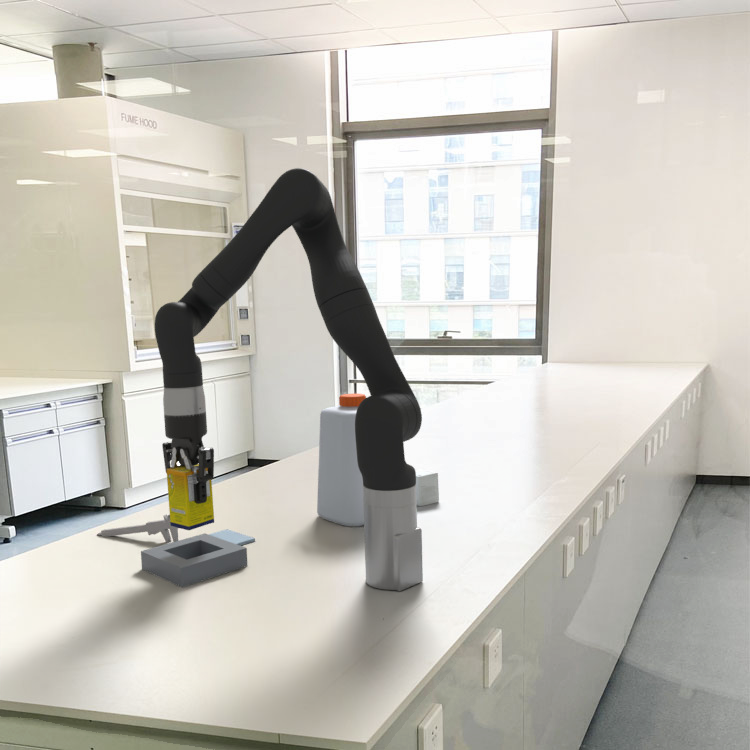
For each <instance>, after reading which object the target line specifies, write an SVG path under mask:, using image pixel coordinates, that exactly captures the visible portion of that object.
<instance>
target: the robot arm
mask: <svg viewBox="0 0 750 750" xmlns="http://www.w3.org/2000/svg"><path fill="white" fill-rule="evenodd" d="M290 227H292V228H293V230H294V232H295V233H296V235H297V238H298V240H299V241H300V244H301V245H302V249H304V251H305V254H306V257H307V261H308V264H309V267H310V273H311V276H310V277H311V282H312V288H313V293H314V298H315V301H316V303H317V304H316V305H317V307H318V309H319V313H320V315H321V317H322V319H323V322H324V325H325V328H326V329H327V332H328V333H329V335H330V336H331V338H332V340H333V341H334V342H335V344H336V345H337V346H338V347H339V348H340V350H341V351H342V352H343V353H344V354H345V356H346V357H348V359H350V361H351V362H352V363H353V364H354V365H355V367H356V368H357V369H358V371H359V372H360V374H361V376H362V378H363V379H364V382H365V384H366V386H367V389H368V391H369V394H370V395H369V396H366V398H365V399H364V400H363V401H362V402H361V403H360V405H359V406H358V409H357V412H356V417H355V438H356V450H357V462H358V467H359V470H360V472H361V474H362V478H363V501H364V502H363V504H364V525H363V527H364V528H363V533H364V535H363V536H364V561H365V562H364V563H365V568H364V569H365V582H366V584H367V585H368V586H370V587H373V588H376V589H378V590H379V589H380V590H386V591H387V590H388V591H389V590H393V591H399V592H401V591H404V590H406V589H408V588H410V587H412V586H413V587H414V586H415V585H417V584H419V583H422V582H423V581H424V580H423V579H424V578H423V577H424V573H423V571H424V570H423V532H422V531H423V530H422V528H420V527H418V514H417V513H418V511H417V506H418V505H416V472H415V470H416V469H415V468H414V466H412V465H411V464H408V463H407V462H406V459H405V445H404V442H407V441H410V440H411V439H413V438H415V437H416V436H417V434H418V433H419V432H420V429H421V427H422V422H423V417H422V416H423V415H422V410H421V405H420V403H419V401H418V398H417V397H416V395H415V393H414V392H413V390H412V387H411V386H410V384H409V382H408V380H407V378H406V377H405V375H404V373H403V371H402V369H401V367H400V365H399V363H398V361H397V358H396V356H395V355H394V352H393V349H392V347H391V344H390V342H389V339H388V337H387V335H386V332H385V331H384V328H383V325H382V323H381V321H380V318H379V316H378V315H379V314H377V310H376V308H375V305H374V302H373V301H372V298H371V295H370V292H369V290H368V288H367V285H366V284H365V282H364V280H363V276H362V274H361V273H360V270H359V268H358V265H357V264H356V262H355V261H354V258H353V256H352V255H351V253H350V251H349V248H348V247H347V245H346V243H345V241H344V237H343V235H342V231H341V229H340V228H341V227H340V225H339V222H338V218H337V215H336V211H335V207H334V203H333V200H332V197H331V194H330V192H329V190H328V188H327V187H326V185H324V183H323V182H322V181H321V179H320V178H319V177H318V176H317V175H316V174H314V172H312V171H310V170H308V169H305V168H303V167H300V168H299V167H296V168H295V167H294V168H291V169H288V170H287V171H285V172H284V173H282V174H281V175H280V176H279V177H278V178H277V179H276V180H275V182H274V183H273V184H272V186H271V188H270V189H269V190H268V192H267V193H266V194H265V196H264V197H263V198H262V200H261V202H259V204H258V206H257V207H256V208H255V210H254V211H253V213H252V214H251V215H250V216H249V217H248V219H247V220H246V222H244V224H243V225H242V227H240V230H239V231H237V233H236V234H235V236H233V238H232V239H230V241H229V242H228V244H227V245H225V247H224V248H222V250H221V251H220V252H219V253H218V254H217V255H216V256H215V257H214V258H213V259H212V260H211V261H210V262H209V263H208V264H207V265H206V266H205V267H204V268H203V269H202V270H201V271H200V272H199V273H198V274H197V275H196V276H195V277H194V279H193V281H192V282H191V287H190V289H189V290H187V291H186V293H185V294H184V295H183V296H182V297H181V298H180V299H179V300H178V301H171V302H167V303H164V304H163V305H162V306H161V307H160V308H158V310H157V312H156V315H155V317H154V332H155V333H154V335H155V340H156V344H157V347H158V351H159V352H158V353H159V356H160V359H161V362H162V379H163V382H162V383H163V395H162V396H163V398H162V401H163V402H162V405H163V421H164V430H165V431H164V432H165V433H164V434H165V437H166V438H167V439H170V440H171V441H166V442H162V454H163V460H164V462H163V463H164V469H165V473H166V474H167V469H169V468H175V467H179V466H184V465H185V466H186V468H187V471H190V472H192V478H193V482H194V484H193V485H194V500H195V503H197V504H200V503H204V502H206V501H207V492H206V491H207V489H206V482H207V481H208V480H211V481H212V480H214V477H215V476H214V475H215V474H214V473H215V472H214V471H215V467H214V465H215V464H214V463H215V450H214V448H213V447H205V445H204V443H203V437H204V436H206V435H207V433H208V423H207V420H208V419H207V409H206V408H207V407H206V406H207V405H206V396H205V395H206V394H205V391H204V385H203V384H204V381H203V366H202V362H201V361H202V360H201V358H200V357H199V356H198V355H197V353H196V348H195V347H196V346H195V340H194V339H195V337H196V336H198V335H199V334H200V333H201V332H202V331H203V330H204V329H205V328H206V326H207V325H208V324H210V322H211V321H212V319H214V316H215V315H216V314H217V313H218V311H219V310H220V309H221V307H223V305H226V303H227V302H228V301H229V300H230V299H231V298H232V297H233V296H234V295H235V294H237V292H238V291H239V290H240V289H241V288H242V287H243V286H245V284H246V283H247V282H248V281H249V279H250V278H251V277H252V275H253V274H254V272H255V271H256V269H257V267H258V265H259V264H260V262H261V261H262V259H263V257H264V255H265V254H266V252H267V251H268V249H269V248H270V247H271V246H272V244H273V243H274V242H275V241H276V240H278V238H279V237H280V236H281V235H282V234H283V233H284V232H285V231H286V230H288V229H289V228H290ZM198 464H199V465H198ZM195 465H198V466H195ZM206 468H208V473H206V470H205V469H206ZM198 470H199V475H197V472H196V471H198Z"/></svg>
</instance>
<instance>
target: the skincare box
mask: <svg viewBox="0 0 750 750" xmlns="http://www.w3.org/2000/svg"><path fill="white" fill-rule="evenodd" d="M415 472H416V505H417V506H418V507H423V506H428V505H432V504H433V505H434V504H437V503H439V502H440V497H439V496H440V491H439V473H438V472H435V471H432V470H427V469H425V468H421V469H420V468H419V469H415Z"/></svg>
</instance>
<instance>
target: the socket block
mask: <svg viewBox="0 0 750 750" xmlns="http://www.w3.org/2000/svg"><path fill="white" fill-rule="evenodd" d="M208 534H209V533H201V534H199V535H194V536H192V537H187V538H183V539H180V540H179V539H178V541H176V542H173V541H171V542H169V543H164V544H162V545H159V546H155V547H150V548H148V549H143V550H141V551H140V559H141V570H143V571H145V572H147V573H149V574H152V575H154V576H155V577H158V578H161V579H162V580H165V581H167V582H169V583H172V584H174V585H176V586H178V587H180V588H184V587H185V588H186V587H188V586H191V585H194V584H197V583H200V582H203V581H206V580H209V579H211V578H215V577H217V576H222V575H224V574H228V573H230V572H234V571H237V570H239V569H242V568H245V567H248V548H247V547H245V546H243V545H241V546H240V545H237V544H234V543H231V542H228V541H226V540H223V539H220V538H217V537H214V536H211V535H208Z"/></svg>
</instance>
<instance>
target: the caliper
mask: <svg viewBox="0 0 750 750" xmlns="http://www.w3.org/2000/svg"><path fill="white" fill-rule="evenodd" d="M162 516H163V519H160V520H152V521H148V522H146V523H145V524H136V525H129V526H121V527H114V528H107V529H103V530H101V531H100V532H98V533H97V534H96V535H97V536H102V537H115V536H116V537H117V536H123V535H130V534H140V533H146V532H147V534H148V535H149V536H151V535H156V534H159V533H161V535H162V537H163V539H164V540H165V542H167V543H166V544H168V543H172V542H176V541H179V532H178V531H179V528H177V527H173V526H171V524H170V514H167V513H166V514H164V515H162Z"/></svg>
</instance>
